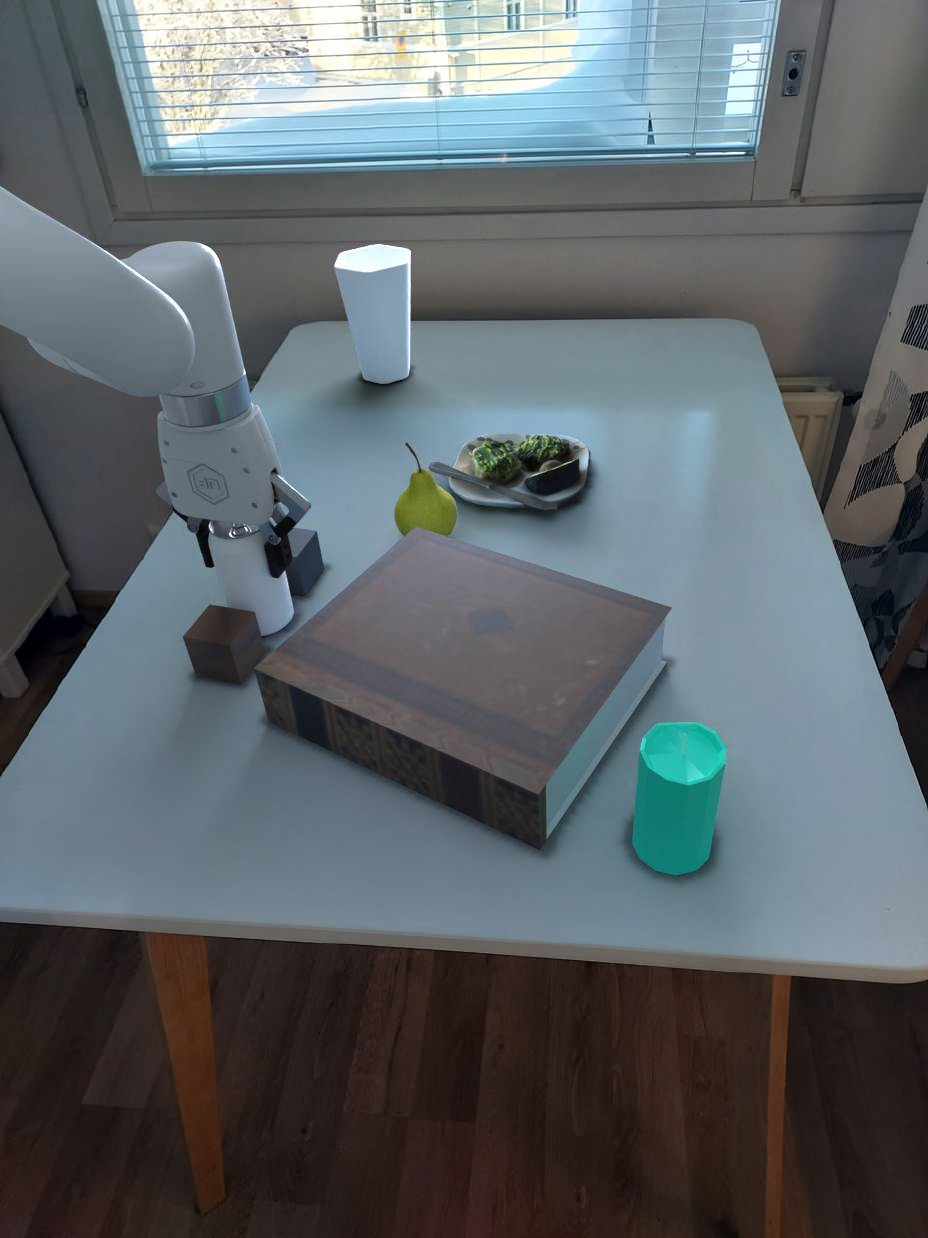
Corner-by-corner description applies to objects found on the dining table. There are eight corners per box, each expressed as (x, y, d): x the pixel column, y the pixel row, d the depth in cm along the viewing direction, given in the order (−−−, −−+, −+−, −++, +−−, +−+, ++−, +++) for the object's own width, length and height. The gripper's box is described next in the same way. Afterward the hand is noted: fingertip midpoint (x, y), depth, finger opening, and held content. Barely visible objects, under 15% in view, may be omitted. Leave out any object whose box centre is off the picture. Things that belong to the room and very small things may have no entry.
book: (539, 849, 71) (538, 794, 67) (268, 721, 84) (253, 668, 80) (666, 662, 87) (672, 607, 83) (421, 577, 99) (415, 526, 95)
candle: (723, 830, 72) (742, 721, 64) (694, 888, 68) (711, 780, 60) (650, 800, 74) (661, 692, 67) (618, 854, 71) (626, 747, 63)
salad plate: (413, 513, 109) (409, 480, 106) (447, 439, 122) (445, 407, 119) (578, 525, 105) (578, 490, 102) (595, 447, 118) (596, 414, 115)
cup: (417, 388, 135) (405, 269, 124) (348, 391, 135) (330, 273, 124) (423, 356, 143) (412, 242, 132) (358, 358, 144) (342, 245, 133)
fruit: (471, 539, 104) (465, 444, 97) (427, 566, 101) (416, 470, 93) (430, 517, 108) (420, 424, 101) (385, 542, 105) (372, 448, 97)
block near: (195, 676, 90) (182, 636, 86) (221, 642, 93) (209, 603, 90) (241, 684, 88) (229, 645, 85) (265, 650, 92) (255, 611, 89)
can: (234, 645, 93) (205, 546, 85) (229, 607, 97) (201, 510, 90) (298, 631, 94) (276, 532, 86) (290, 594, 99) (268, 497, 91)
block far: (262, 589, 100) (253, 551, 96) (283, 562, 103) (275, 524, 100) (304, 595, 98) (296, 557, 95) (324, 568, 102) (317, 530, 99)
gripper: (95, 407, 79) (152, 575, 91) (275, 426, 75) (312, 600, 86) (143, 370, 85) (192, 532, 96) (315, 385, 80) (345, 554, 91)
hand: (248, 563), depth 91 cm, fingers closed on can, 6 cm apart
